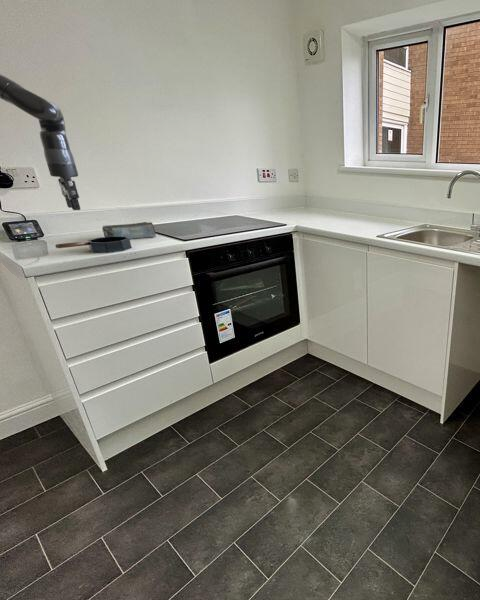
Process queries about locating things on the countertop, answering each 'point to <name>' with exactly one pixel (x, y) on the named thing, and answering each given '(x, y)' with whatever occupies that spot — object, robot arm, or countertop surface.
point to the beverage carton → (130, 230)
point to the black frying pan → (102, 244)
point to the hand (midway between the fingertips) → (74, 208)
